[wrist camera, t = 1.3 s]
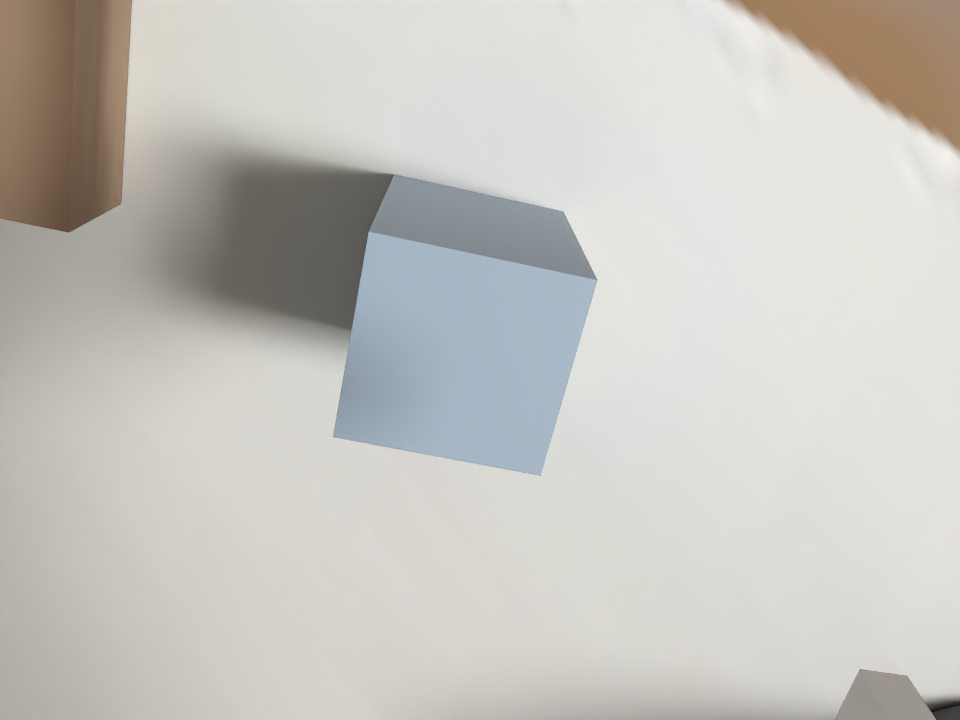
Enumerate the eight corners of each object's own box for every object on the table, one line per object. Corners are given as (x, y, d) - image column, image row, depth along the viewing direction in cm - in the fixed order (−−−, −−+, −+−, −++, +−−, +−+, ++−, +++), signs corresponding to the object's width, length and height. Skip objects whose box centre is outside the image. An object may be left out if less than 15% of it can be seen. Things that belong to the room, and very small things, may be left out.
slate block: (563, 211, 29) (597, 280, 21) (522, 365, 31) (540, 475, 23) (394, 174, 28) (368, 231, 21) (365, 334, 30) (333, 437, 23)
